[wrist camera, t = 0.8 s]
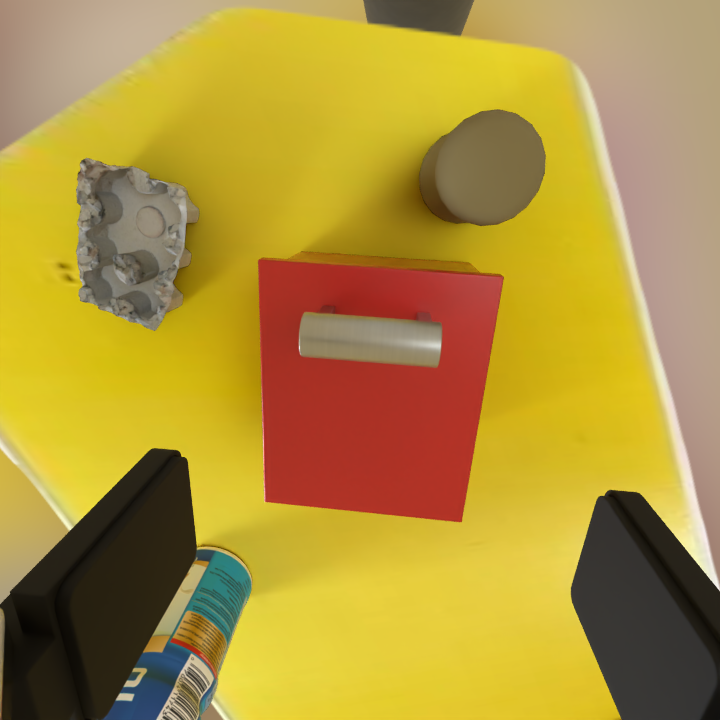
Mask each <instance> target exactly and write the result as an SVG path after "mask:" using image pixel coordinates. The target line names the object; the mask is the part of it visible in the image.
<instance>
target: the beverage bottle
mask: <svg viewBox="0 0 720 720" xmlns="http://www.w3.org/2000/svg"><path fill="white" fill-rule="evenodd" d="M251 590H252V578H251V574H250V572H249V570H248V568H247V566H246V565H245V564H244V563H243V562H242V561H241V560H240V559H239V558H238V557H237V556H235V555H234V554H232V553H230V552H228V551H226V550H224V549H220V548H216V547H198V548H197V551H196V556H195V560H194V562H193V564H192V566H191V568H190V570H189V572H188V573H187V575H186V577H185V579H184V580H183V582H182V584H181V586H180V587H179V589H178V591H177V593H176V595H175V596H174V598H173V600H172V602H171V603H170V605H169V607H168V609H167V611H166V612H165V614H164V616H163V618H162V619H161V621H160V623H159V625H158V626H157V628H156V630H155V632H154V634H153V635H152V637H151V639H150V641H149V642H148V644H147V646H146V648H145V650H144V651H143V653H142V655H141V657H140V658H139V660H138V662H137V664H136V665H135V667H134V669H133V671H132V673H131V674H130V676H129V678H128V680H127V681H126V683H125V685H124V687H123V689H122V690H121V692H120V694H119V696H118V697H117V699H116V701H115V703H114V704H113V706H112V708H111V710H110V711H109V713H108V714H107V715H106V717H105V718H104V719H102V720H201V715H202V714H203V713H204V712H205V710H206V709H207V708H208V707H209V705H210V703H211V701H212V699H213V697H214V694H215V692H216V689H217V685H218V675H219V672H220V670H221V667H222V664H223V662H224V659H225V656H226V653H227V651H228V648H229V645H230V643H231V640H232V637H233V635H234V632H235V629H236V627H237V624H238V621H239V619H240V616H241V614H242V611H243V609H244V607H245V605H246V603H247V601H248V598H249V596H250V593H251Z"/></svg>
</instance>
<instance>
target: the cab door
mask: <svg viewBox="0 0 720 720" xmlns="http://www.w3.org/2000/svg"><path fill="white" fill-rule="evenodd" d="M258 273H259V310H260V348H261V386H262V424H263V461H264V499H265V502H271V503H281V504H290V505H300V506H309V507H319V508H329V509H338V510H348V511H358V512H367V513H377V514H387V515H396V516H406V517H415V518H425V519H435V520H444V521H454V522H462V517H463V511H464V505H465V499H466V494H467V488H468V482H469V476H470V470H471V465H472V459H473V453H474V447H475V441H476V436H477V430H478V424H479V418H480V412H481V407H482V401H483V395H484V389H485V383H486V378H487V372H488V366H489V360H490V354H491V349H492V343H493V337H494V331H495V325H496V320H497V314H498V308H499V302H500V296H501V291H502V285H503V279H504V277H503V276H502V275H500V274H491V273H477V272H462V271H448V270H434V269H419V268H405V267H390V266H376V265H362V264H347V263H333V262H318V261H304V260H290V259H275V258H261V259H259V260H258Z"/></svg>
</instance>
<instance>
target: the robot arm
mask: <svg viewBox="0 0 720 720" xmlns="http://www.w3.org/2000/svg"><path fill="white" fill-rule="evenodd" d="M196 551H197V544H196V535H195V525H194V516H193V507H192V497H191V488H190V478H189V469H188V462H187V459H186V458H185V457H181V454H180V452H179V451H177V450H168V449H157V448H154V449H151V450H150V451H148V452H147V453H146V455H145V456H144V457H143V458H142V459H141V460H140V461H139V462H138V463H137V464H136V465H135V466H134V467H133V468H132V469H131V470H130V471H129V472H128V473H127V474H126V475H125V476H124V477H123V478H122V479H121V480H120V481H119V482H118V483H117V484H116V485H115V486H114V487H113V488H112V489H111V490H110V491H109V492H108V493H107V494H106V495H105V496H104V497H103V498H102V499H101V500H100V501H99V502H98V503H97V504H96V505H95V506H94V507H93V508H92V509H91V510H90V511H89V512H88V513H87V514H86V515H85V516H84V517H83V518H82V519H81V520H80V521H79V522H78V523H77V524H76V525H75V526H74V527H73V528H72V529H71V530H70V531H69V532H68V534H67V535H66V536H65V537H64V538H63V539H62V540H61V541H60V542H59V543H58V544H57V545H56V546H55V547H54V548H53V549H52V550H51V551H50V552H49V553H48V554H47V555H46V556H45V557H44V558H43V559H42V560H41V561H40V562H39V563H38V564H37V565H36V566H35V567H34V568H33V569H32V570H31V571H30V572H29V573H28V574H27V575H26V576H25V577H24V578H23V579H22V580H21V581H20V582H19V583H18V584H17V585H16V586H15V587H14V588H13V589H12V590H11V591H10V595H9V596H8V597H7V598H6V599H5V600H4V601H3V602H2V603H1V604H0V720H102V719H104V718H105V717H106V715H107V714H108V713H109V711H110V710H111V708H112V706H113V704H114V703H115V701H116V699H117V697H118V696H119V694H120V692H121V690H122V689H123V687H124V685H125V683H126V681H127V680H128V678H129V676H130V674H131V673H132V671H133V669H134V667H135V665H136V664H137V662H138V660H139V658H140V657H141V655H142V653H143V651H144V650H145V648H146V646H147V644H148V642H149V641H150V639H151V637H152V635H153V634H154V632H155V630H156V628H157V626H158V625H159V623H160V621H161V619H162V618H163V616H164V614H165V612H166V611H167V609H168V607H169V605H170V603H171V602H172V600H173V598H174V596H175V595H176V593H177V591H178V589H179V587H180V586H181V584H182V582H183V580H184V579H185V577H186V575H187V573H188V572H189V570H190V568H191V566H192V564H193V562H194V560H195V556H196ZM571 598H572V603H573V606H574V608H575V610H576V613H577V615H578V618H579V620H580V622H581V625H582V627H583V629H584V632H585V634H586V636H587V639H588V641H589V643H590V646H591V648H592V650H593V653H594V655H595V658H596V660H597V662H598V665H599V667H600V669H601V672H602V674H603V676H604V679H605V681H606V683H607V686H608V688H609V691H610V693H611V695H612V698H613V700H614V702H615V705H616V707H617V709H618V712H619V714H620V716H621V719H622V720H720V591H719V590H718V589H717V587H716V586H715V585H714V584H713V582H712V581H711V580H710V579H709V578H708V576H707V575H706V574H705V573H704V571H703V570H702V569H701V568H700V566H699V565H698V564H697V563H696V561H695V560H694V559H693V558H692V557H691V555H690V554H689V553H688V552H687V550H686V549H685V548H684V547H683V545H682V544H681V543H680V542H679V540H678V539H677V538H676V537H675V536H674V534H673V533H672V532H671V531H670V529H669V528H668V527H667V526H666V524H665V523H664V522H663V521H662V520H661V518H660V517H659V516H658V515H657V513H656V512H655V511H654V510H653V508H652V507H651V506H650V505H649V503H648V502H647V501H646V500H645V499H644V497H643V496H642V495H641V494H640V493H637V492H627V491H616V490H609V491H607V492H606V494H605V496H599V497H598V499H597V501H596V504H595V507H594V511H593V514H592V518H591V521H590V525H589V528H588V531H587V535H586V538H585V542H584V545H583V548H582V552H581V555H580V559H579V562H578V566H577V569H576V572H575V576H574V579H573V583H572V587H571Z"/></svg>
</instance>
